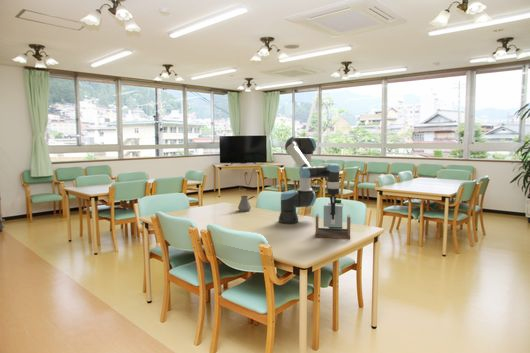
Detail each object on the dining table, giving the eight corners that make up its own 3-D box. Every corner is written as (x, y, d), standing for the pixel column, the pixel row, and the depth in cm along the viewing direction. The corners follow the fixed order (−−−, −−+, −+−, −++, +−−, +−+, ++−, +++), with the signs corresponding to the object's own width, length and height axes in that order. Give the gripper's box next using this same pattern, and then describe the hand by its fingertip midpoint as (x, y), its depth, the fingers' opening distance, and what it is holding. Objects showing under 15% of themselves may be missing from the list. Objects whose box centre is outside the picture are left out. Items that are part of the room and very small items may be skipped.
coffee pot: (235, 210, 321) (235, 193, 319) (246, 208, 328) (246, 192, 326) (249, 214, 304) (248, 196, 302) (260, 212, 311) (260, 195, 309)
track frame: (316, 232, 247) (316, 213, 246) (349, 233, 243) (349, 213, 242) (315, 237, 236) (315, 217, 234) (350, 238, 232) (350, 218, 230)
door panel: (323, 225, 241) (323, 204, 240) (342, 226, 239) (342, 205, 237) (323, 226, 238) (323, 205, 237) (342, 227, 236) (342, 206, 235)
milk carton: (344, 228, 256) (344, 200, 254) (333, 230, 253) (333, 201, 251) (337, 225, 264) (337, 198, 262) (326, 227, 261) (326, 199, 259)
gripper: (327, 186, 244) (327, 220, 247) (327, 189, 229) (327, 226, 231) (338, 186, 243) (338, 220, 246) (339, 189, 227) (339, 226, 230)
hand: (332, 223), depth 238 cm, fingers closed on door panel, 3 cm apart
